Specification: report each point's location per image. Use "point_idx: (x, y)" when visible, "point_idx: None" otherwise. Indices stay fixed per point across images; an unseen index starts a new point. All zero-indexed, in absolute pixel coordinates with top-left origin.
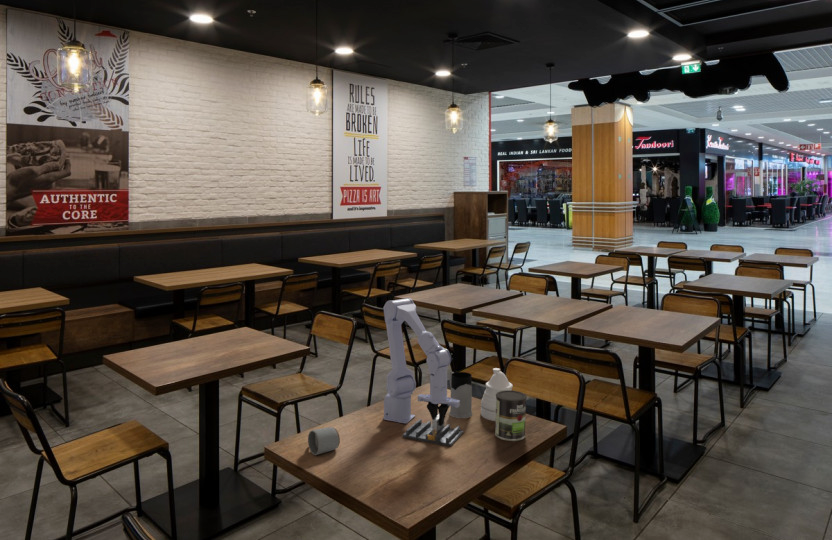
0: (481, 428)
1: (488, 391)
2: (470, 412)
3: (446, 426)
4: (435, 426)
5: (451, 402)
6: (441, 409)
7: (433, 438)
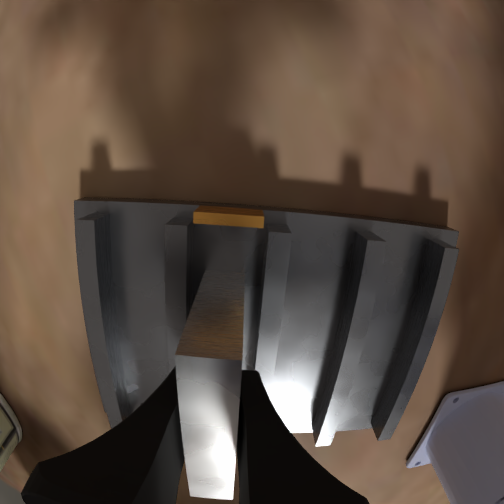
0: (76, 447)
1: None
2: None
3: None
4: (205, 314)
5: None
6: (71, 482)
7: (206, 207)
